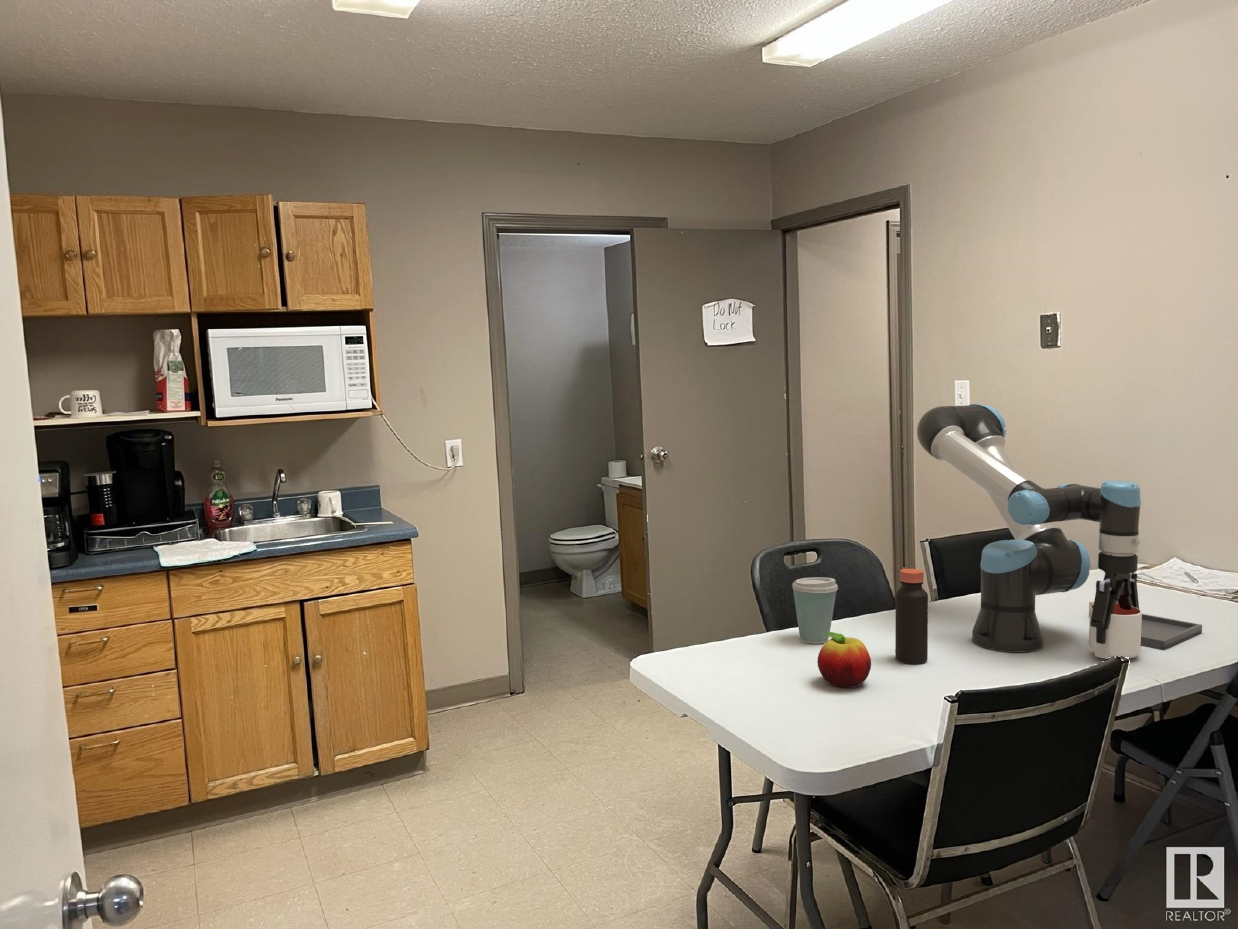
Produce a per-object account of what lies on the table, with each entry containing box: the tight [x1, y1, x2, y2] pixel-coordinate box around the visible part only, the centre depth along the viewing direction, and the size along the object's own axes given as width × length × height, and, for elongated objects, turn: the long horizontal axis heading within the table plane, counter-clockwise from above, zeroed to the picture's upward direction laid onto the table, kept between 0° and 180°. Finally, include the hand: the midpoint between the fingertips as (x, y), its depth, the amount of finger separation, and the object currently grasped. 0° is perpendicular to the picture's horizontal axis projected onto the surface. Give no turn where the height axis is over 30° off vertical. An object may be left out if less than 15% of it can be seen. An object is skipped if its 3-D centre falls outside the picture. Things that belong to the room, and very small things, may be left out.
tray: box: [1141, 613, 1203, 651], centre depth 218 cm, size 20×16×2 cm
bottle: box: [894, 568, 929, 665], centre depth 202 cm, size 7×7×20 cm
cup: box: [1088, 604, 1143, 659], centre depth 202 cm, size 10×10×10 cm
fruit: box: [816, 631, 872, 688], centre depth 189 cm, size 11×11×10 cm
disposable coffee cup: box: [791, 576, 839, 645], centre depth 219 cm, size 11×11×15 cm
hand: (1113, 652), depth 202 cm, fingers closed on cup, 10 cm apart
